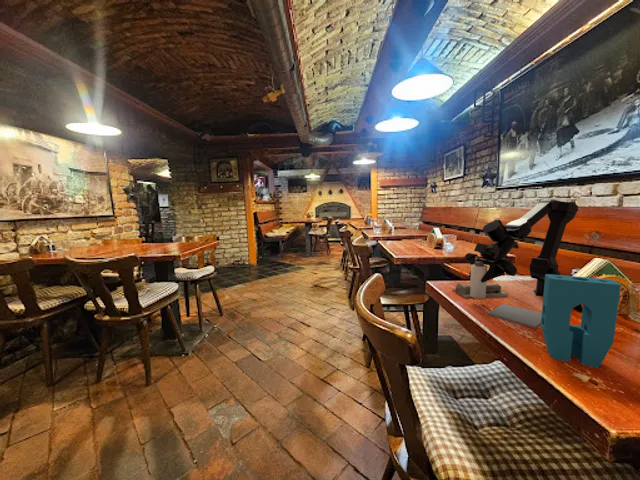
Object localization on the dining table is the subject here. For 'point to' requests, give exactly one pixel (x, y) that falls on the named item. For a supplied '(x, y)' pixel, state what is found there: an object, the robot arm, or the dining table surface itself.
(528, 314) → the felt mat
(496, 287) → the packaged product
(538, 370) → the dining table surface
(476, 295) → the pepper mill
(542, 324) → the block
